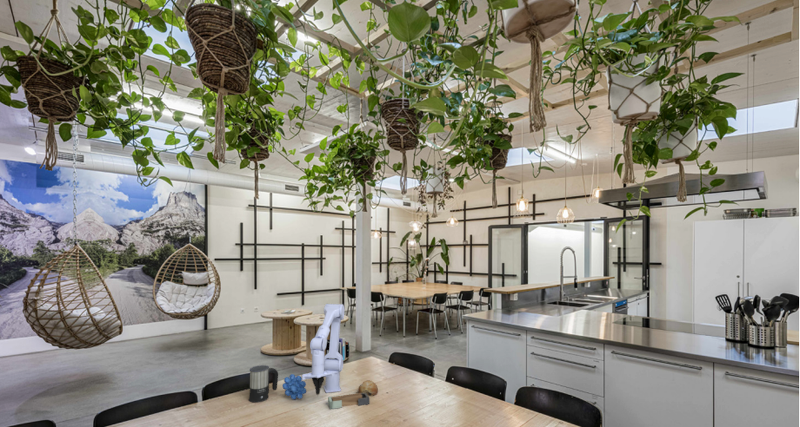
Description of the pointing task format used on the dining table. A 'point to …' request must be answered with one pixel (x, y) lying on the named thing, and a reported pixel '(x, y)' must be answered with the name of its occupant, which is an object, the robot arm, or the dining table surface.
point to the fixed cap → (363, 399)
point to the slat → (348, 399)
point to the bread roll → (368, 388)
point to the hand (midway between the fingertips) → (317, 393)
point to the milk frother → (261, 382)
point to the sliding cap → (334, 403)
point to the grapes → (294, 386)
